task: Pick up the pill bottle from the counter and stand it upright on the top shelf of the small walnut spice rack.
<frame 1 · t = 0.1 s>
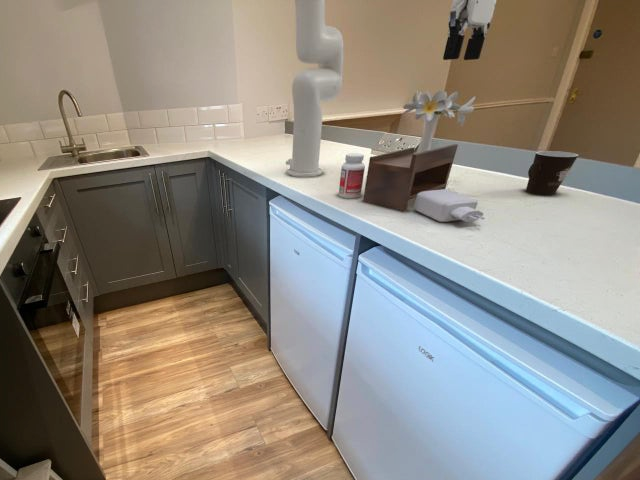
hand: (461, 59, 76), 31 cm above the worktop, tool pointing down, fingers open, 9 cm apart
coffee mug: (533, 193, 94), on the worktop
charger: (450, 219, 79), on the worktop
pill bottle: (349, 196, 98), on the worktop
flower vase: (417, 182, 108), on the worktop
rack: (403, 198, 93), on the worktop
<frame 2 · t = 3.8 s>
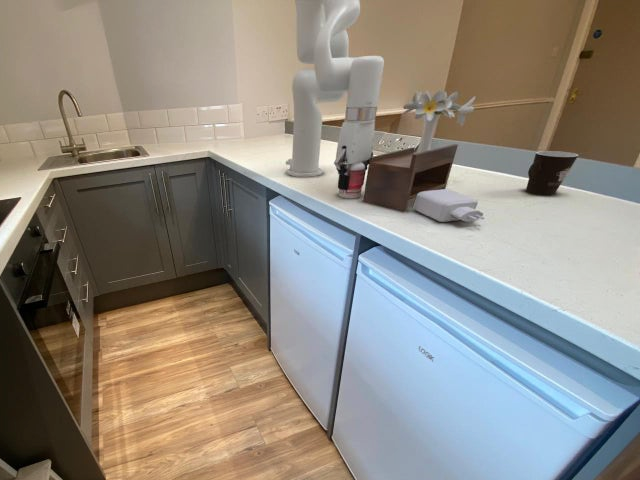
hand: (350, 186, 96), 3 cm above the worktop, tool pointing down, fingers closed on pill bottle, 6 cm apart
pill bottle: (349, 196, 98), on the worktop, touching gripper
everything else where it was.
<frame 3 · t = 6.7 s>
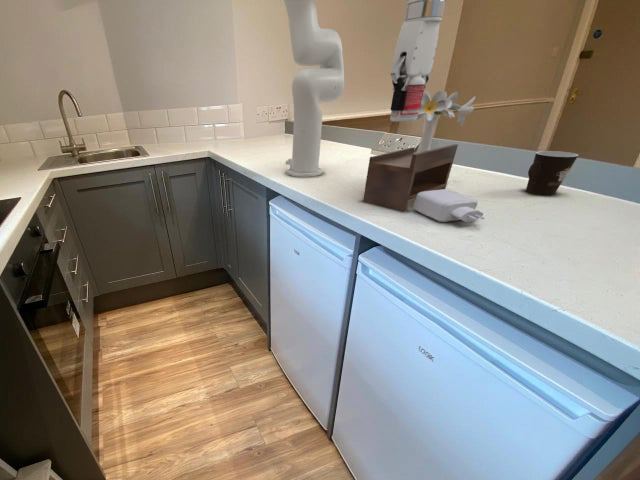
hand: (405, 108, 83), 22 cm above the worktop, tool pointing down, fingers closed on pill bottle, 6 cm apart
pill bottle: (402, 121, 84), point 19 cm above the worktop, touching gripper
everything else where it was.
when the fingers open (13 cm above the worktop, at t = 9.5 s): pill bottle stays where it is, point 10 cm above the worktop.
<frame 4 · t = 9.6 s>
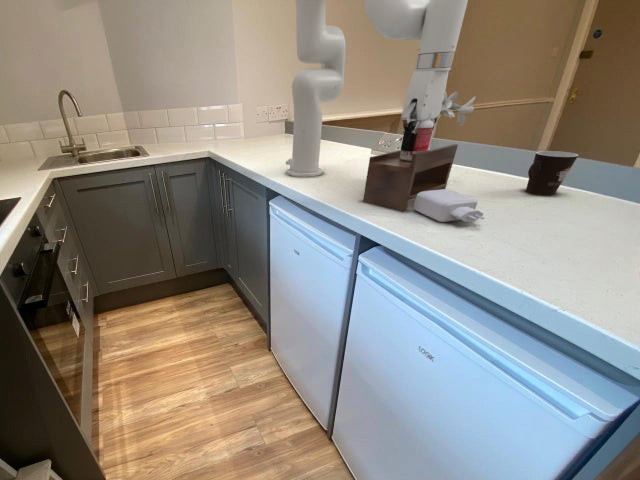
hand: (414, 148, 86), 13 cm above the worktop, tool pointing down, fingers open, 6 cm apart
pill bottle: (411, 160, 88), point 10 cm above the worktop
everything else where it was.
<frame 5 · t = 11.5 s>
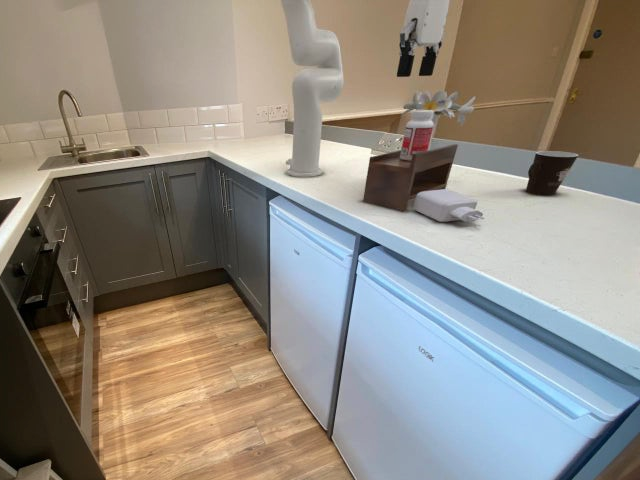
hand: (414, 76, 81), 28 cm above the worktop, tool pointing down, fingers open, 9 cm apart
pill bottle: (411, 160, 88), point 10 cm above the worktop, touching rack
everything else where it was.
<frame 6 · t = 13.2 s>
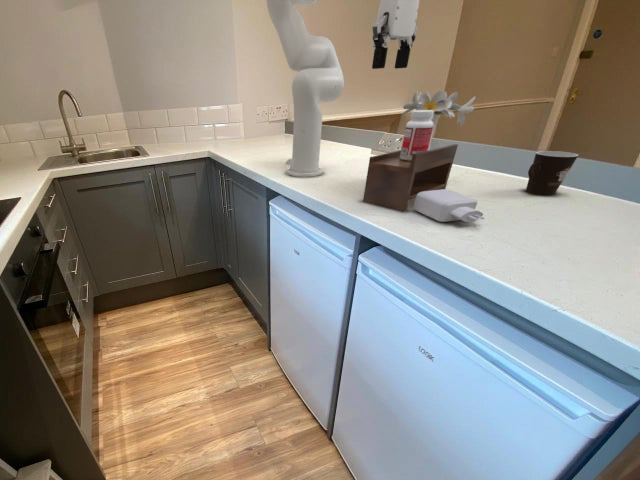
hand: (389, 68, 84), 30 cm above the worktop, tool pointing down, fingers open, 9 cm apart
nothing on the worktop moved.
at the end: pill bottle inside the target area on the rack (0.0 cm from its centre), point 10.0 cm above the rack's base; pill bottle tilted 0°; the gripper is holding nothing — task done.
